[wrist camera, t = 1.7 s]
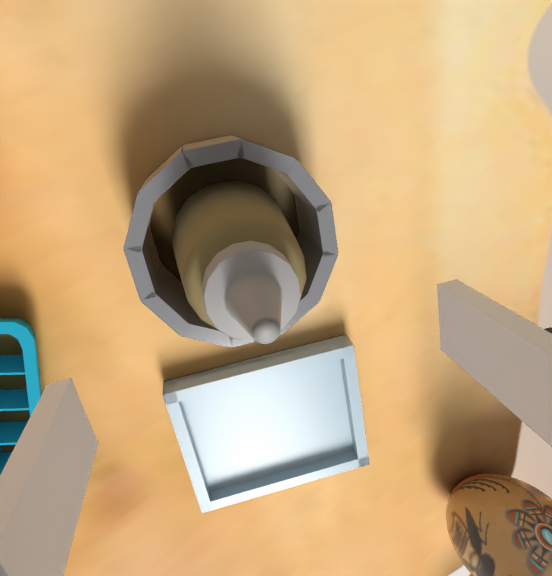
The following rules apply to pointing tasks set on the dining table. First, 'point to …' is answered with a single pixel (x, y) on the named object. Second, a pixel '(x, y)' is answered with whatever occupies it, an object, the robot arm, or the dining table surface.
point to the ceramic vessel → (501, 526)
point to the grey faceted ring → (169, 290)
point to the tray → (269, 422)
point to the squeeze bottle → (239, 260)
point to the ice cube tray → (18, 397)
